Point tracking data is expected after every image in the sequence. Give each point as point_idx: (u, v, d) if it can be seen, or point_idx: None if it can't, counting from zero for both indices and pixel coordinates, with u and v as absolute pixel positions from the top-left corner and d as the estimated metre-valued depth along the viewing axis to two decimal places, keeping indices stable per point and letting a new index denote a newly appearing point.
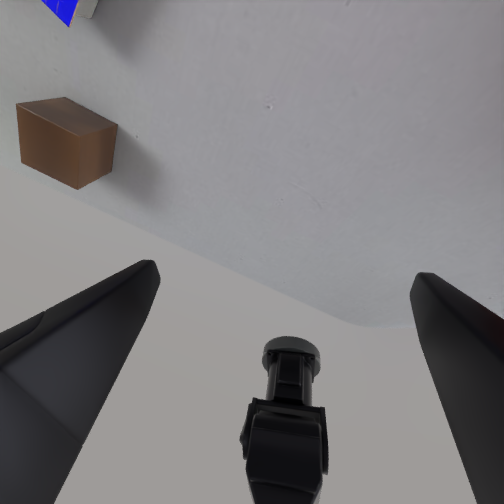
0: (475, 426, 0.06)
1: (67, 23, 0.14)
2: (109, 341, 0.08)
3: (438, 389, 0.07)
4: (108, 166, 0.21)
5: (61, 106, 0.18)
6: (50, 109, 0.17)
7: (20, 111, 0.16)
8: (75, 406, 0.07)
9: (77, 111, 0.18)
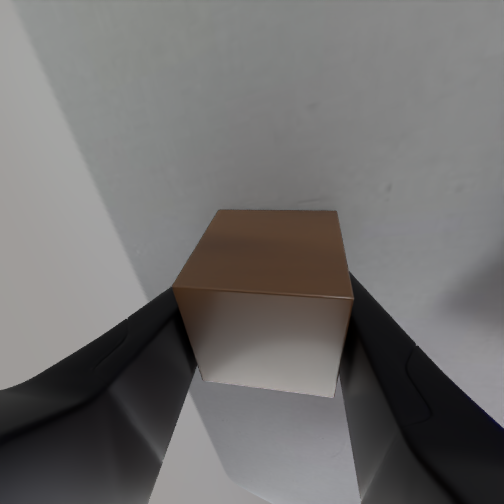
0: (354, 409, 0.06)
1: None
2: (186, 350, 0.07)
3: (340, 378, 0.07)
4: None
5: None
6: None
7: (334, 306, 0.06)
8: (159, 420, 0.07)
9: None
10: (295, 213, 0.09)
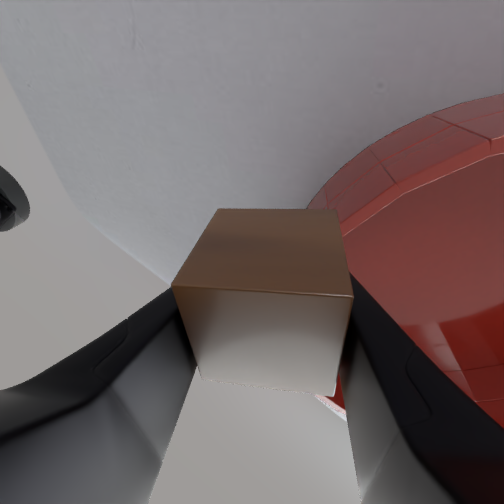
0: (354, 410, 0.06)
1: None
2: (185, 349, 0.07)
3: (340, 378, 0.07)
4: None
5: None
6: None
7: (334, 304, 0.05)
8: (159, 420, 0.07)
9: None
10: (294, 212, 0.08)
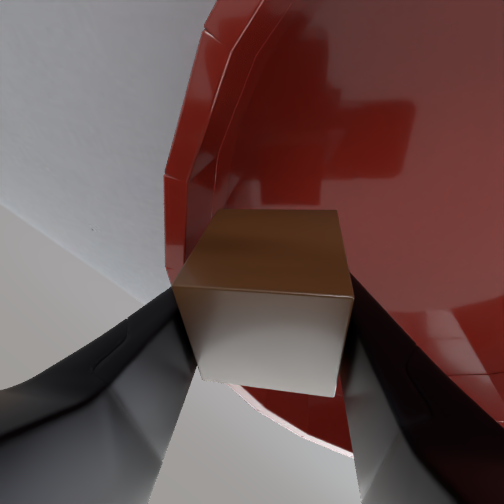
0: (355, 409, 0.06)
1: None
2: (185, 349, 0.07)
3: (340, 377, 0.07)
4: None
5: None
6: None
7: (335, 305, 0.05)
8: (159, 420, 0.07)
9: None
10: (295, 212, 0.08)
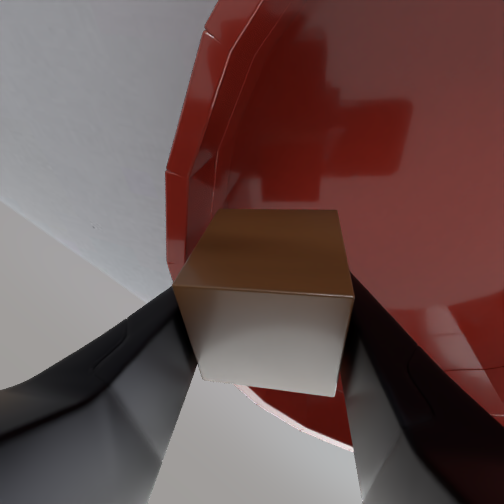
0: (356, 410, 0.06)
1: None
2: (185, 349, 0.07)
3: (341, 378, 0.07)
4: None
5: None
6: None
7: (335, 304, 0.06)
8: (159, 420, 0.07)
9: None
10: (295, 212, 0.09)
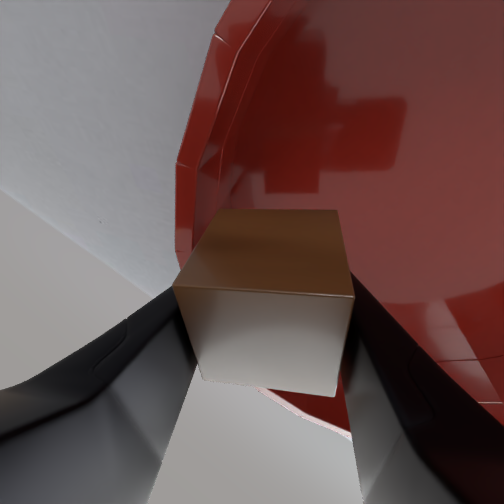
0: (356, 410, 0.06)
1: None
2: (185, 349, 0.07)
3: (342, 378, 0.07)
4: None
5: None
6: None
7: (335, 305, 0.05)
8: (159, 420, 0.07)
9: None
10: (295, 212, 0.08)
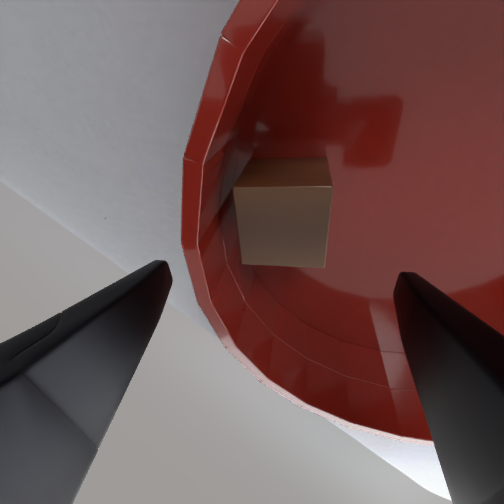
0: (449, 423, 0.06)
1: None
2: (124, 343, 0.08)
3: (417, 387, 0.07)
4: None
5: None
6: None
7: (323, 192, 0.10)
8: (91, 409, 0.07)
9: None
10: (300, 159, 0.13)
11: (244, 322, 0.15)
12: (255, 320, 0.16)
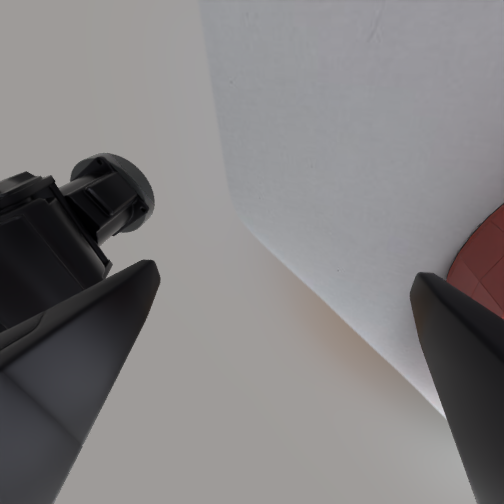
0: (475, 426, 0.06)
1: None
2: (109, 341, 0.08)
3: (438, 389, 0.07)
4: None
5: None
6: None
7: None
8: (75, 406, 0.07)
9: None
10: None
11: None
12: None
